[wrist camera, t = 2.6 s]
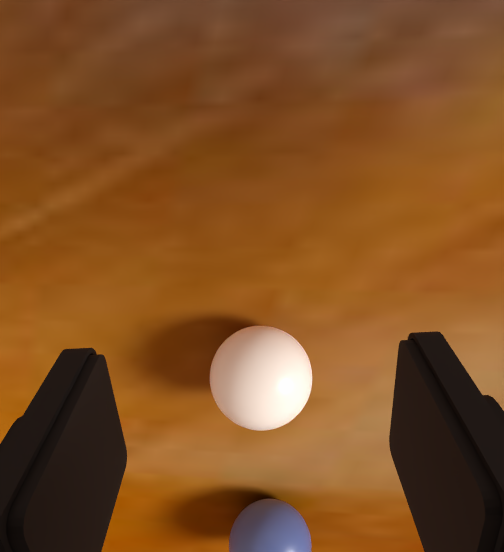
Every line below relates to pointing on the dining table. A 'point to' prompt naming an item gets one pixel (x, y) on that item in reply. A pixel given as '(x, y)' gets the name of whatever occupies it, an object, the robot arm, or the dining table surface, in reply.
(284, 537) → the object ball
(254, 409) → the cue ball
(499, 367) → the dining table surface
